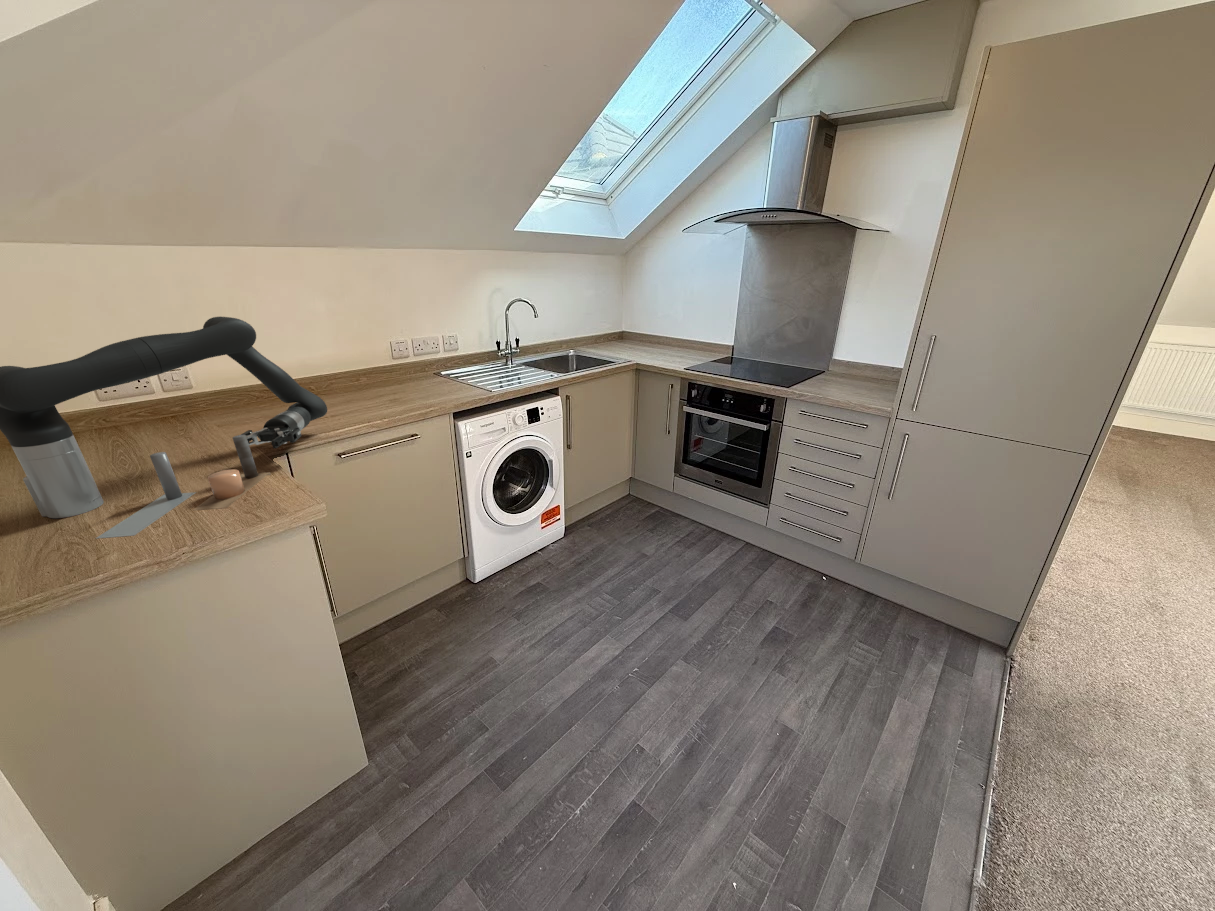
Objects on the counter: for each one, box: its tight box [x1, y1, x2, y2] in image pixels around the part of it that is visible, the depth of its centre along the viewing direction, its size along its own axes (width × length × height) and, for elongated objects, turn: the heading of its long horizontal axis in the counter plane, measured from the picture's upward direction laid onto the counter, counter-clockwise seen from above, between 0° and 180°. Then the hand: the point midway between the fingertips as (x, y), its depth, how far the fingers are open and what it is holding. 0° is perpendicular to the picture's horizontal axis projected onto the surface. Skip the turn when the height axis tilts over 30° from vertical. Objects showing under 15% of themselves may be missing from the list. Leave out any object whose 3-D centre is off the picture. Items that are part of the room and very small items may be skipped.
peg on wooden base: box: [193, 434, 272, 511], centre depth 115 cm, size 7×20×12 cm, turn 9°
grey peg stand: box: [95, 451, 197, 540], centre depth 104 cm, size 7×20×12 cm, turn 9°
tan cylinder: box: [207, 468, 245, 499], centre depth 114 cm, size 6×6×5 cm
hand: (256, 445), depth 127 cm, fingers open, 8 cm apart
